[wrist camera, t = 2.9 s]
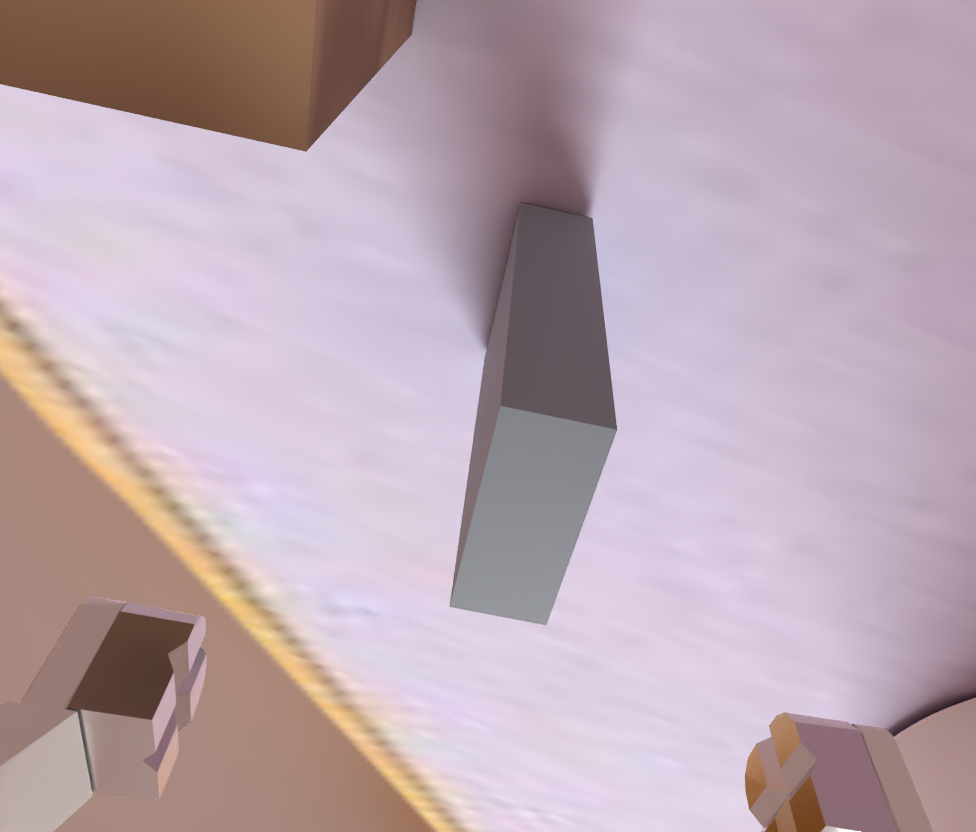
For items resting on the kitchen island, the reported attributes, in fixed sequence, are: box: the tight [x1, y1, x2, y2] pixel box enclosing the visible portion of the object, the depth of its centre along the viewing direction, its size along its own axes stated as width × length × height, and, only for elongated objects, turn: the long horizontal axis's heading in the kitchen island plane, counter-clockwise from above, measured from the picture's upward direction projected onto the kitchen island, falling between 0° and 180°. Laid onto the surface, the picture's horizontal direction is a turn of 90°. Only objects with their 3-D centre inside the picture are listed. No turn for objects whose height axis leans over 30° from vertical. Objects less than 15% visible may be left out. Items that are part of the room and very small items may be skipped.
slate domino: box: [450, 203, 617, 625], centre depth 19 cm, size 2×5×10 cm, turn 169°
